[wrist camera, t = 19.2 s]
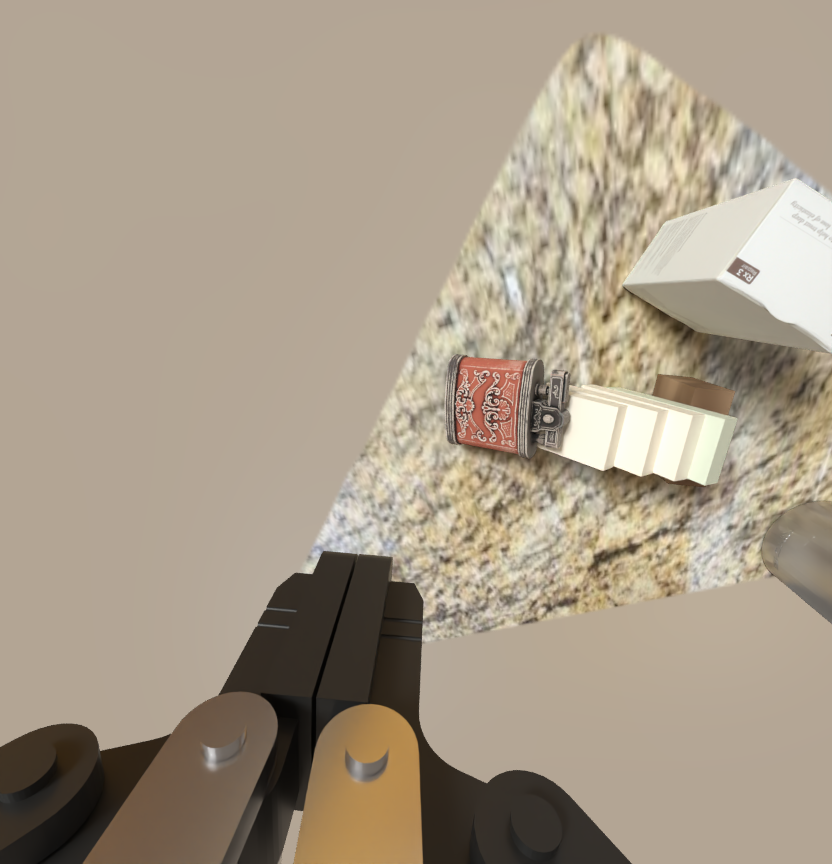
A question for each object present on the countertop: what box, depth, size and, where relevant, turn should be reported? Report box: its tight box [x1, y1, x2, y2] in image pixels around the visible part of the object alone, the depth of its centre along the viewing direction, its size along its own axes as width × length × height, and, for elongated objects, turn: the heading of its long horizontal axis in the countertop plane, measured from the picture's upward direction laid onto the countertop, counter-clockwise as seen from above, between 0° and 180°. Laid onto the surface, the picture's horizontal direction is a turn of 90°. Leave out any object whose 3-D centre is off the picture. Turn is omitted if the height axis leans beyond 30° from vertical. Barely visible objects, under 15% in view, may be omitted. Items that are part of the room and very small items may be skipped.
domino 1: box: [537, 386, 628, 471], centre depth 37 cm, size 2×5×10 cm
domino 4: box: [607, 387, 738, 486], centre depth 36 cm, size 2×5×10 cm, turn 174°
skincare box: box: [622, 178, 832, 354], centre depth 30 cm, size 8×6×15 cm
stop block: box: [653, 374, 735, 487], centre depth 37 cm, size 3×8×6 cm, turn 175°
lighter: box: [445, 354, 570, 458], centre depth 37 cm, size 8×3×10 cm
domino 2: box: [546, 383, 669, 477], centre depth 36 cm, size 2×5×10 cm
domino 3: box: [582, 385, 706, 481], centre depth 36 cm, size 2×5×10 cm, turn 175°
